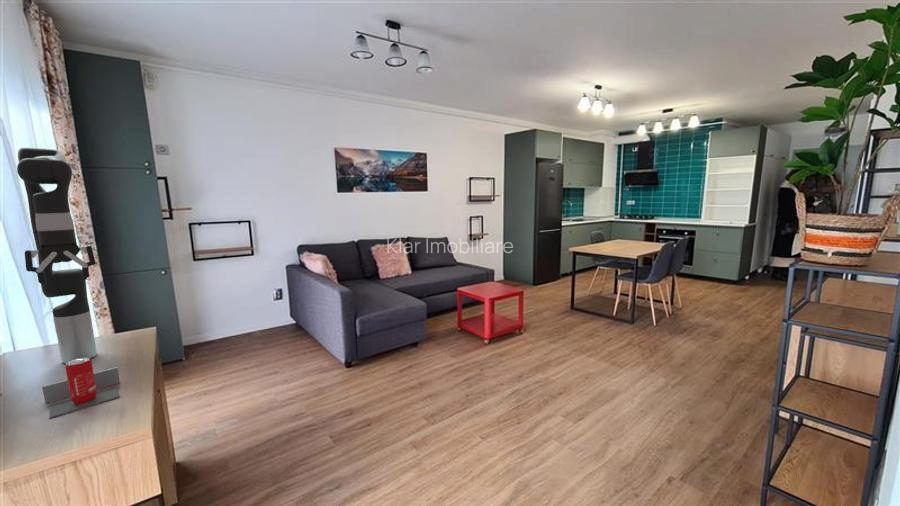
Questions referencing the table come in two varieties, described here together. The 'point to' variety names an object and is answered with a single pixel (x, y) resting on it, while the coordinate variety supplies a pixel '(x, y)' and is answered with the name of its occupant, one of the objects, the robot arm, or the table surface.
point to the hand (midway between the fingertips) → (65, 281)
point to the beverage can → (81, 380)
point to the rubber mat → (69, 406)
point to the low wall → (62, 387)
